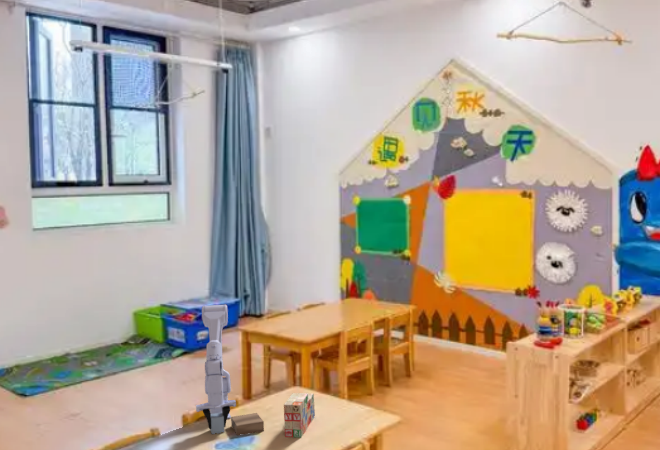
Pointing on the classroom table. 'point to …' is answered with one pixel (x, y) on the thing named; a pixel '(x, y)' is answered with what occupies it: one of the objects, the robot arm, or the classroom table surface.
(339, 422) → the classroom table surface
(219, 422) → the grey block
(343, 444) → the classroom table surface
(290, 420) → the stack of blocks
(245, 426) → the walnut base
